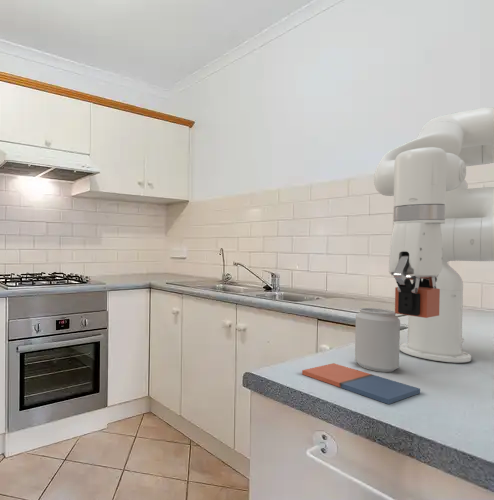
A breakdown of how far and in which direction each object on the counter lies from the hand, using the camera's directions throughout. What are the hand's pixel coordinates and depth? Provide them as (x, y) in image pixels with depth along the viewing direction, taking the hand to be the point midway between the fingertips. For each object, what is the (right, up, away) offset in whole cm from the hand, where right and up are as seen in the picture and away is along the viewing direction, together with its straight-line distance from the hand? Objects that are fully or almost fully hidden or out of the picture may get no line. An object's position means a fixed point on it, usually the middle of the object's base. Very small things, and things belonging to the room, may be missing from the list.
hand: (416, 311), depth 68 cm
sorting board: (-13, -13, -2) cm, 18 cm away
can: (-3, -13, +7) cm, 15 cm away
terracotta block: (0, -1, 0) cm, 1 cm away
